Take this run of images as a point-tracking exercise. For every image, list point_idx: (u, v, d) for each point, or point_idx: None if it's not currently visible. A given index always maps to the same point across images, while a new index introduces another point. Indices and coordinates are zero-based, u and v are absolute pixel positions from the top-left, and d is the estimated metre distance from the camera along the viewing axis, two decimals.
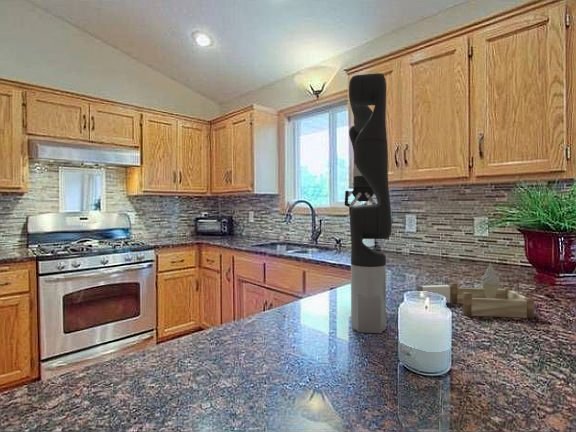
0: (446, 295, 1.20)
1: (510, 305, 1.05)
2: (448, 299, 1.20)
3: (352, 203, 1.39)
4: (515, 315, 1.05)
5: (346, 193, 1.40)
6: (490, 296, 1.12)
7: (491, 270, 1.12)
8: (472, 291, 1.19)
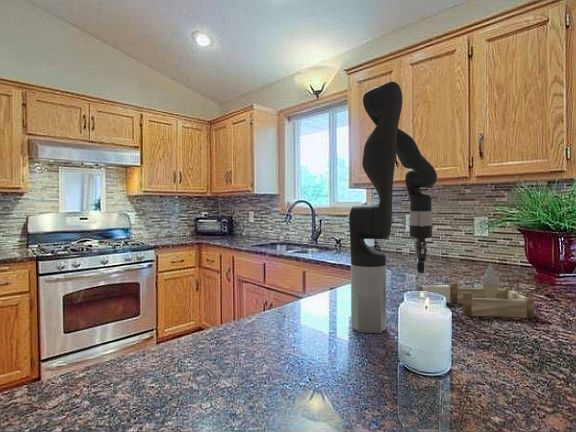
0: (446, 295, 1.20)
1: (510, 305, 1.05)
2: (448, 299, 1.20)
3: (416, 256, 1.28)
4: (515, 315, 1.05)
5: None
6: (490, 296, 1.12)
7: (491, 270, 1.12)
8: (472, 291, 1.19)
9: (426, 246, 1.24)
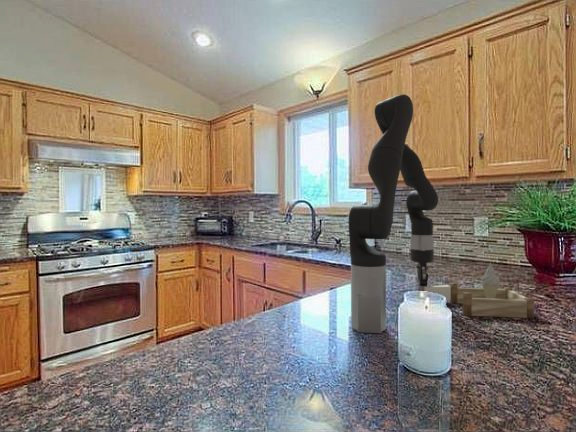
0: (447, 295, 1.20)
1: (510, 305, 1.05)
2: (449, 299, 1.20)
3: (418, 280, 1.25)
4: (515, 315, 1.05)
5: None
6: (490, 296, 1.12)
7: (491, 270, 1.12)
8: (472, 291, 1.19)
9: (428, 271, 1.21)
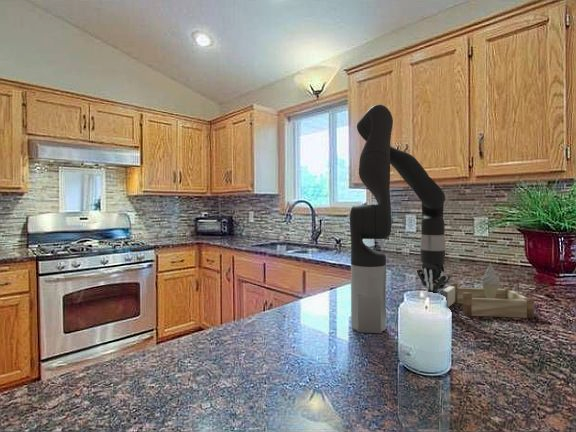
0: (454, 296, 1.18)
1: (510, 305, 1.05)
2: (454, 300, 1.19)
3: None
4: (515, 315, 1.05)
5: None
6: (490, 296, 1.12)
7: (491, 270, 1.12)
8: (472, 291, 1.19)
9: None
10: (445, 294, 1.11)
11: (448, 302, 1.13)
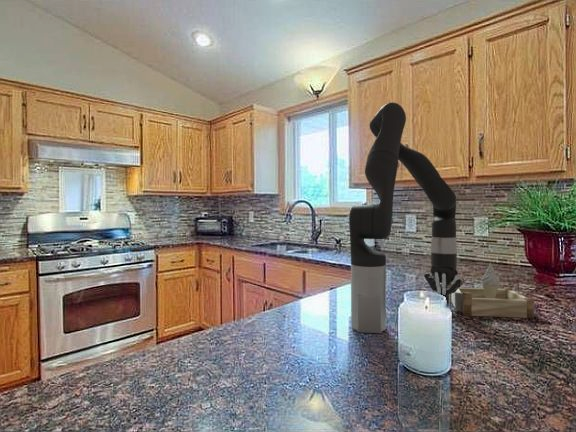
0: None
1: (510, 305, 1.05)
2: None
3: None
4: (515, 315, 1.05)
5: None
6: (490, 296, 1.12)
7: (491, 270, 1.12)
8: (472, 291, 1.19)
9: (435, 275, 1.14)
10: (461, 295, 1.09)
11: None
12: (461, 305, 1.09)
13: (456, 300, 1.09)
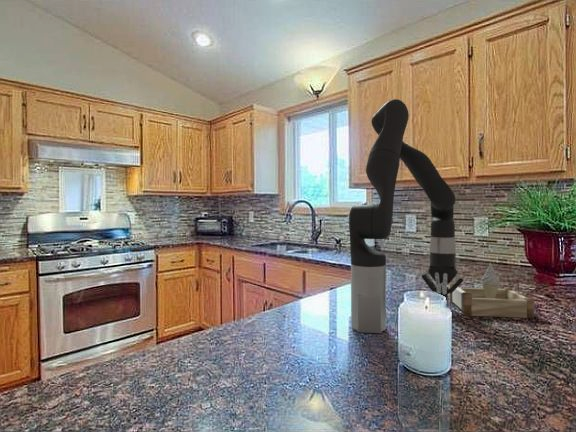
0: None
1: (510, 305, 1.05)
2: None
3: None
4: (515, 315, 1.05)
5: None
6: (490, 296, 1.12)
7: (491, 270, 1.12)
8: (472, 291, 1.19)
9: (435, 275, 1.13)
10: None
11: None
12: None
13: None
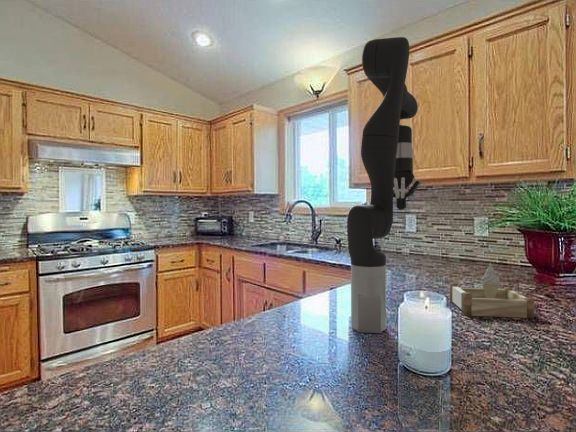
0: None
1: (510, 305, 1.05)
2: None
3: None
4: (515, 315, 1.05)
5: None
6: (490, 296, 1.12)
7: (491, 270, 1.12)
8: (472, 291, 1.19)
9: (394, 181, 1.19)
10: None
11: None
12: None
13: None
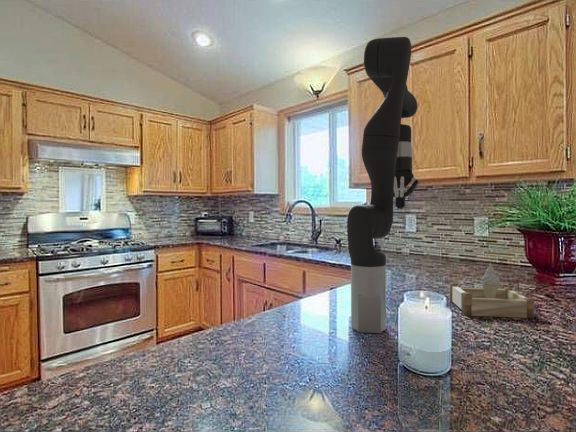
0: None
1: (510, 305, 1.05)
2: None
3: None
4: (515, 315, 1.05)
5: None
6: (490, 296, 1.12)
7: (491, 270, 1.12)
8: (472, 291, 1.19)
9: None
10: None
11: None
12: None
13: None
